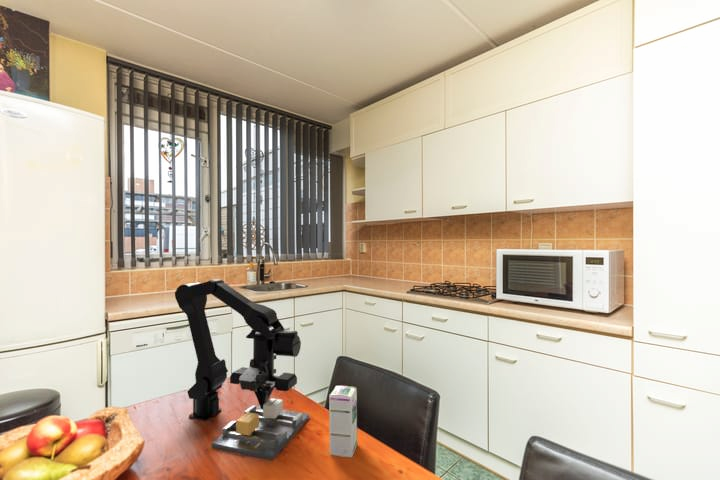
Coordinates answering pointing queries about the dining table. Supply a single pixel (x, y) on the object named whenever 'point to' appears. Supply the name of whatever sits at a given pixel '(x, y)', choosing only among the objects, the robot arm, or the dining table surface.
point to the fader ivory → (272, 408)
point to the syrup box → (343, 421)
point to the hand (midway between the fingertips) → (263, 408)
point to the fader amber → (247, 423)
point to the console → (262, 434)
